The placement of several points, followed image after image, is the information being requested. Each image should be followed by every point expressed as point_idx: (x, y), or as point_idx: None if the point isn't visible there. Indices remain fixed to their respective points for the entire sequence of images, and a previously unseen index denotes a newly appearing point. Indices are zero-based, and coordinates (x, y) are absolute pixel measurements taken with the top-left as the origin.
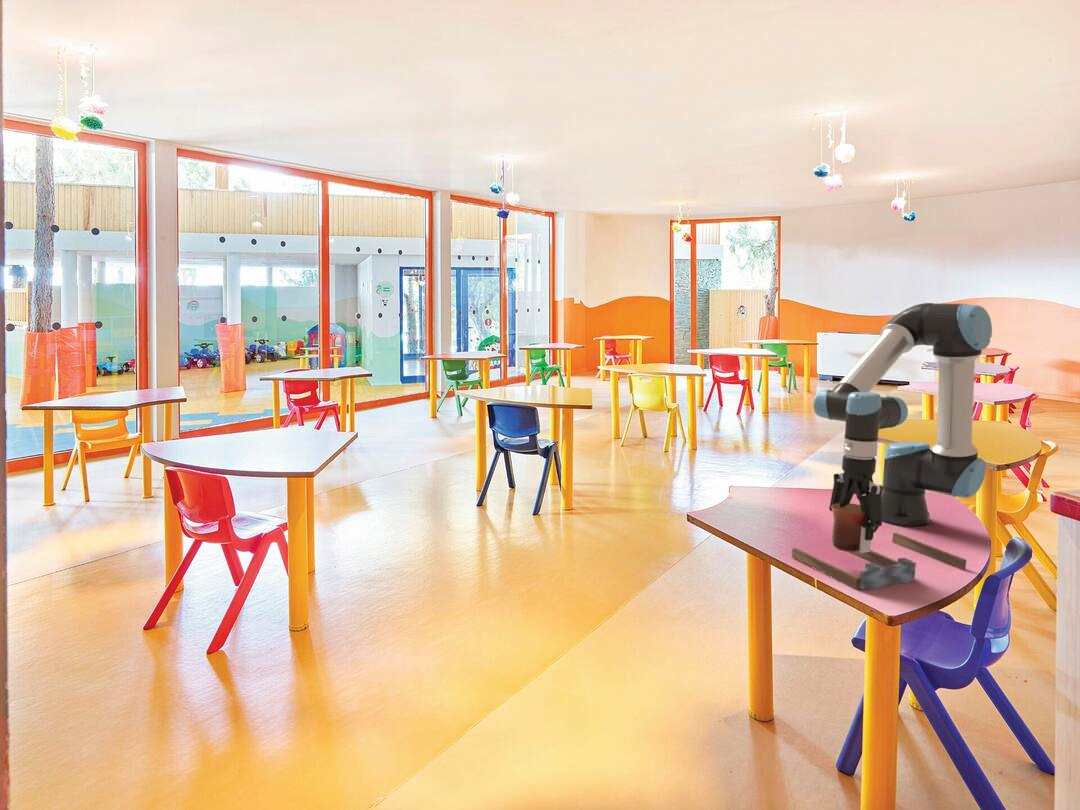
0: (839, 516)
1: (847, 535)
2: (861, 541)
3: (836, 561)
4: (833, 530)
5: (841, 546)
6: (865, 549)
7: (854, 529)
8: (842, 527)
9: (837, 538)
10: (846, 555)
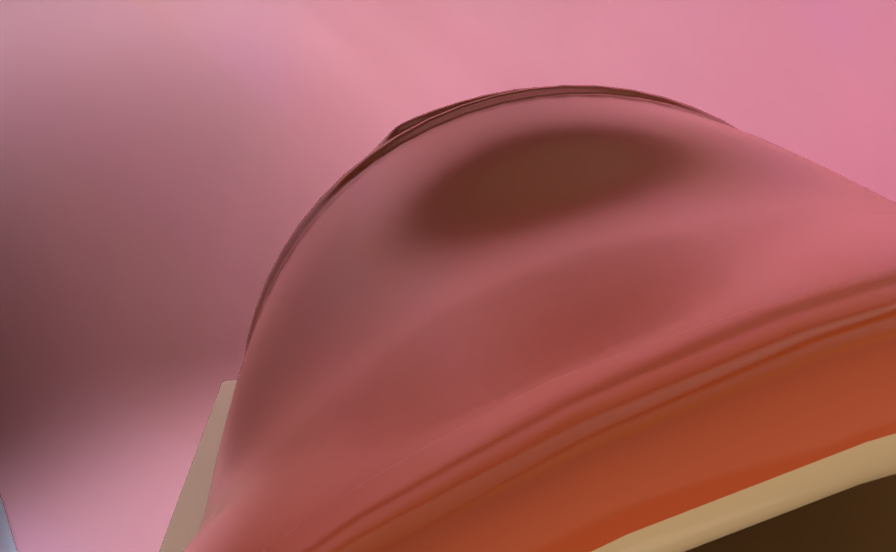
0: (694, 249)
1: (306, 258)
2: (204, 486)
3: None
4: (769, 145)
5: (403, 123)
6: None
7: (207, 501)
8: (457, 231)
9: (525, 106)
10: None
